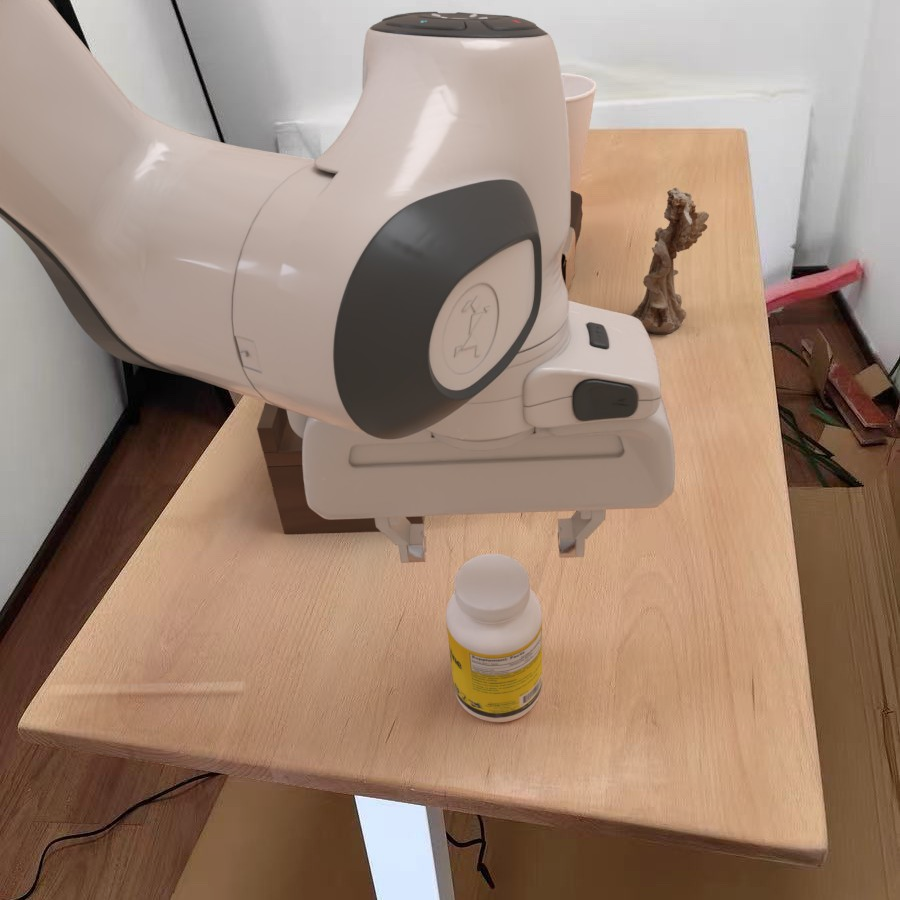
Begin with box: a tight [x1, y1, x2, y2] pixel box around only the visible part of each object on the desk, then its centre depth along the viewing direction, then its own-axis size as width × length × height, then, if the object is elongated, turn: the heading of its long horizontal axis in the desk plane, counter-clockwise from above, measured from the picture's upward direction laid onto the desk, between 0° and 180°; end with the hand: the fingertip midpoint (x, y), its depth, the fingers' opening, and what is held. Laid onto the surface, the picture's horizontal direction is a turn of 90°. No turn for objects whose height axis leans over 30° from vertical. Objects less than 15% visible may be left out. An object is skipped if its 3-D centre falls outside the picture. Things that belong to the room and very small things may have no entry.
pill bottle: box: [445, 553, 543, 723], centre depth 57 cm, size 6×6×11 cm
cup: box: [561, 72, 598, 193], centre depth 119 cm, size 12×12×16 cm
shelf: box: [256, 402, 426, 535], centre depth 81 cm, size 28×12×11 cm, turn 178°
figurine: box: [630, 187, 710, 335], centre depth 92 cm, size 7×6×15 cm
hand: (492, 552), depth 52 cm, fingers open, 8 cm apart
